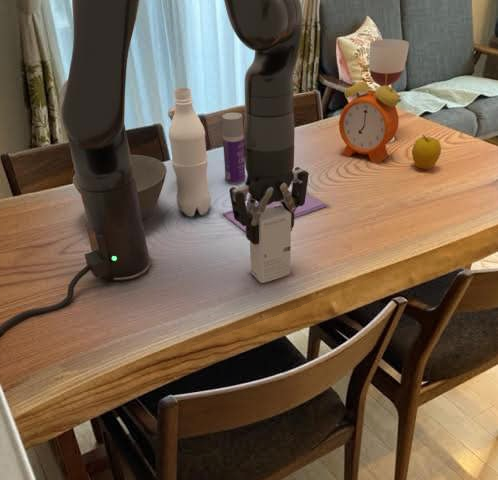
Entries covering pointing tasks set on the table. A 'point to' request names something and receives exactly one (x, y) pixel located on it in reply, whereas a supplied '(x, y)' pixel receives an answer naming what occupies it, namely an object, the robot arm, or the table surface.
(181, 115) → the water bottle
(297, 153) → the table surface
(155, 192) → the bowl
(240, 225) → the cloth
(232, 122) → the container
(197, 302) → the table surface
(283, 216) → the cosmetic box
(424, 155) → the apple
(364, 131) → the alarm clock
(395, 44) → the wineglass
